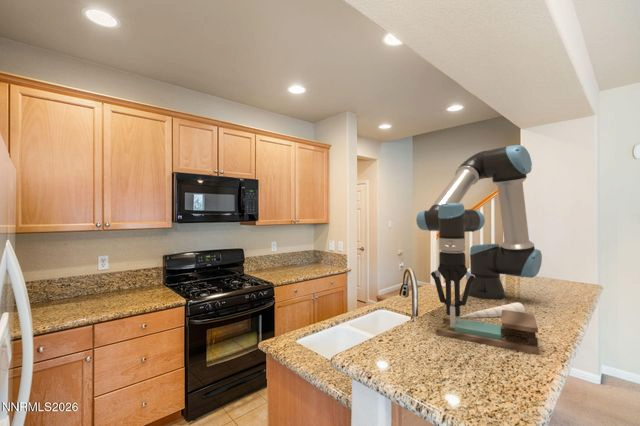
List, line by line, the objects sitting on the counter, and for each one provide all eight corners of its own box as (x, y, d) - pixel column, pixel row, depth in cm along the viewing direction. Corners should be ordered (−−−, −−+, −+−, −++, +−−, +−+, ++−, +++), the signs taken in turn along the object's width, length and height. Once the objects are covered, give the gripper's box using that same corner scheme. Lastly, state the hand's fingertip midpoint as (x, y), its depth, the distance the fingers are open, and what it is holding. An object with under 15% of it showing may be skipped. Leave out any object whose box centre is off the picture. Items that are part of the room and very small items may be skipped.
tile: (454, 335, 88) (454, 326, 88) (458, 327, 94) (458, 318, 95) (501, 344, 81) (500, 334, 81) (501, 334, 88) (501, 325, 88)
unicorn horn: (453, 315, 106) (453, 302, 106) (516, 313, 107) (516, 300, 107) (460, 319, 101) (460, 305, 101) (526, 318, 102) (526, 304, 102)
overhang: (436, 334, 88) (436, 312, 88) (444, 320, 99) (443, 301, 100) (538, 354, 74) (537, 328, 75) (534, 336, 86) (533, 313, 86)
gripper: (427, 251, 92) (429, 325, 91) (473, 254, 85) (475, 334, 84) (433, 249, 98) (434, 318, 98) (476, 251, 91) (477, 326, 91)
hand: (453, 326), depth 91 cm, fingers closed
